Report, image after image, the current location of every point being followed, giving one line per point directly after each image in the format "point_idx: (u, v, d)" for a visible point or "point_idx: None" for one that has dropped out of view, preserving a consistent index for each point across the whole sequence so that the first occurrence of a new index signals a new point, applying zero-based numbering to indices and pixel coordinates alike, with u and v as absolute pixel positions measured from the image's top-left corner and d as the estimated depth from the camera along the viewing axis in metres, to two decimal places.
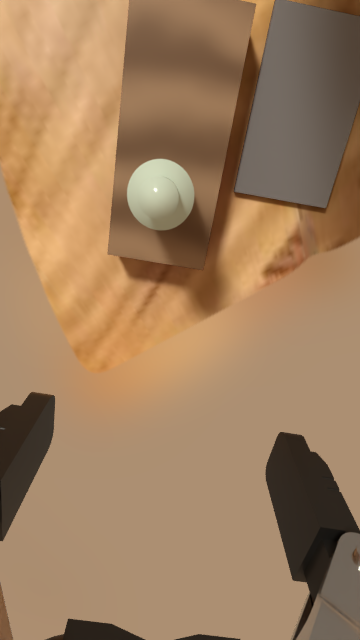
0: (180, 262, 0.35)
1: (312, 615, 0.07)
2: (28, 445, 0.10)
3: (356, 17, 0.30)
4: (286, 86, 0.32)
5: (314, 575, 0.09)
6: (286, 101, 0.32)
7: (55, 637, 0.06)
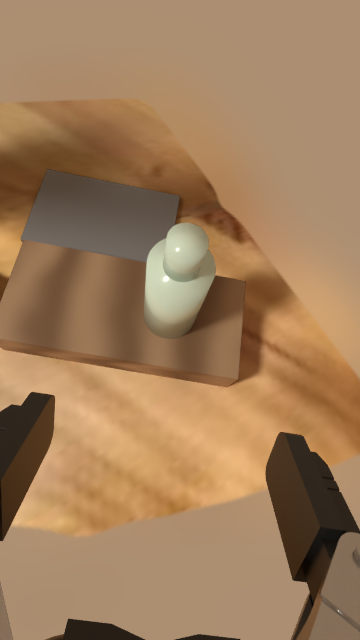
0: (239, 302, 0.33)
1: (312, 615, 0.07)
2: (29, 445, 0.10)
3: (41, 186, 0.39)
4: (83, 229, 0.38)
5: (314, 575, 0.09)
6: (94, 228, 0.38)
7: (55, 637, 0.06)
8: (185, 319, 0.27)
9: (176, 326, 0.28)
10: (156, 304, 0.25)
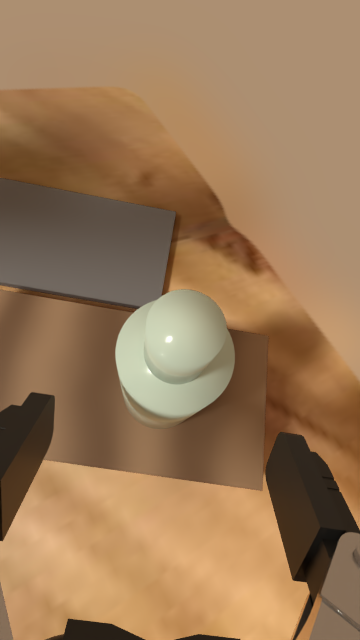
0: (261, 368, 0.23)
1: (312, 615, 0.07)
2: (28, 445, 0.10)
3: None
4: (45, 259, 0.28)
5: (314, 575, 0.09)
6: (60, 258, 0.28)
7: (55, 637, 0.06)
8: (183, 420, 0.17)
9: (170, 424, 0.18)
10: (136, 407, 0.15)
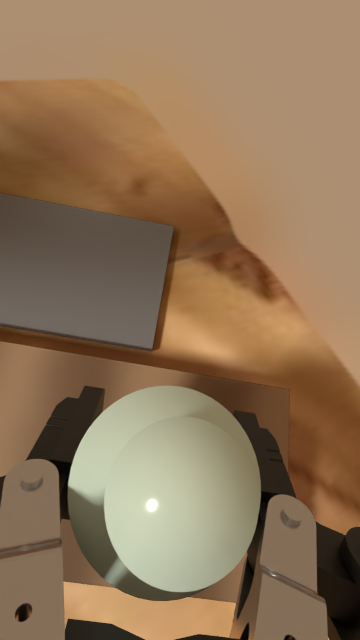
0: (281, 434, 0.18)
1: (255, 586, 0.07)
2: None
3: None
4: (14, 286, 0.23)
5: None
6: (32, 285, 0.23)
7: None
8: None
9: None
10: None
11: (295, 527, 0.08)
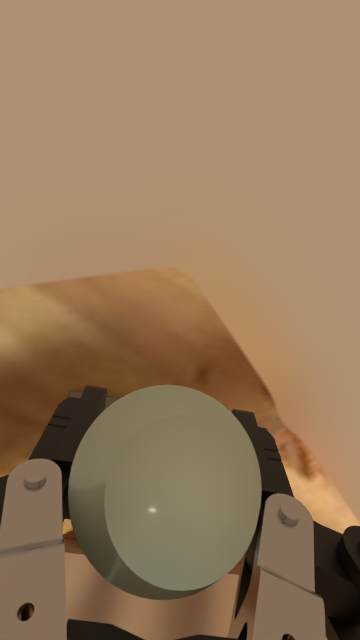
0: None
1: (253, 586, 0.07)
2: None
3: None
4: None
5: None
6: None
7: None
8: None
9: None
10: None
11: (292, 526, 0.08)
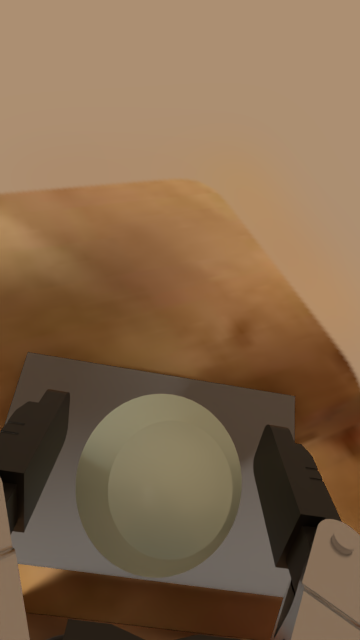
0: None
1: (295, 604, 0.07)
2: (47, 440, 0.10)
3: (15, 398, 0.19)
4: None
5: (295, 560, 0.09)
6: None
7: (55, 637, 0.06)
8: None
9: None
10: None
11: (348, 556, 0.08)
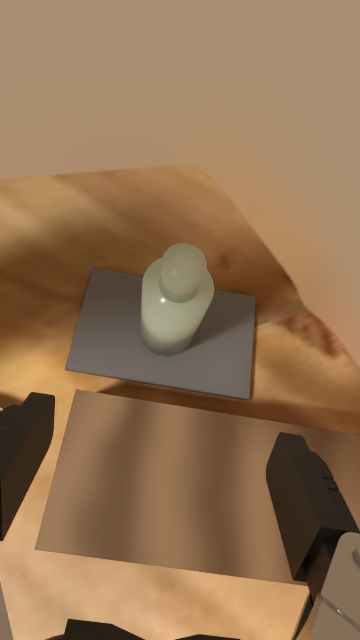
0: (359, 469, 0.25)
1: (312, 615, 0.07)
2: (29, 445, 0.10)
3: (87, 291, 0.31)
4: (142, 350, 0.30)
5: (314, 575, 0.09)
6: None
7: (55, 637, 0.06)
8: (182, 338, 0.26)
9: (173, 345, 0.27)
10: (153, 324, 0.24)
11: None
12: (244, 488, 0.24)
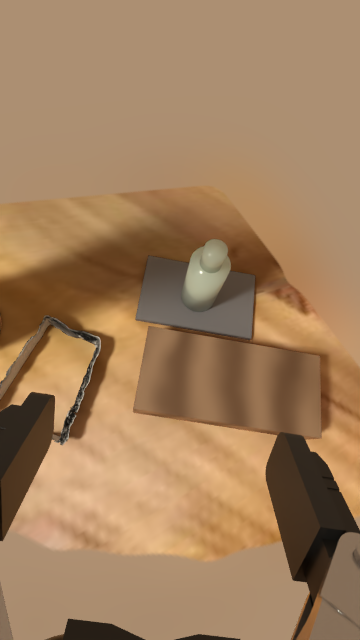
0: (317, 374, 0.42)
1: (312, 615, 0.07)
2: (28, 445, 0.10)
3: (146, 271, 0.48)
4: (183, 308, 0.47)
5: (314, 575, 0.09)
6: None
7: (55, 637, 0.06)
8: (210, 297, 0.43)
9: (204, 302, 0.44)
10: (194, 286, 0.41)
11: None
12: (248, 382, 0.41)
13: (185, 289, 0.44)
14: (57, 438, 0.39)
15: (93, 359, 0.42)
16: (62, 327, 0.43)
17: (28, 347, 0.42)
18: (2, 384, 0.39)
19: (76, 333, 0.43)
